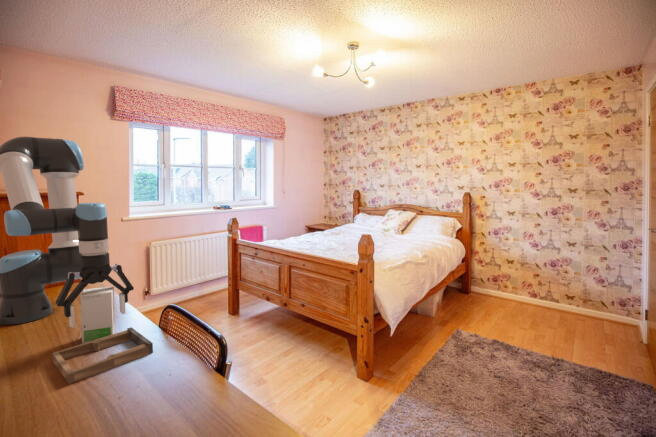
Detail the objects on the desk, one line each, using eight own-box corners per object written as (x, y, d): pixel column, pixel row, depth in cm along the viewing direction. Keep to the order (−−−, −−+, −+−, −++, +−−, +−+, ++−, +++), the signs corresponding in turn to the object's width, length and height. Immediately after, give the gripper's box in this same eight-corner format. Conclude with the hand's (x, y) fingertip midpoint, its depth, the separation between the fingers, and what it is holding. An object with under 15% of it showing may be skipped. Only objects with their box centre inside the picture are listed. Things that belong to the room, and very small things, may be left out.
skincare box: (81, 345, 101) (78, 295, 99) (85, 336, 107) (82, 288, 105) (114, 339, 105) (111, 291, 103) (116, 330, 111) (113, 285, 109)
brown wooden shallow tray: (52, 361, 92) (52, 351, 92) (131, 336, 107) (131, 327, 107) (68, 384, 82) (67, 372, 82) (152, 352, 98) (152, 342, 97)
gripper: (45, 262, 91) (51, 336, 93) (142, 248, 110) (145, 310, 112) (38, 258, 96) (45, 328, 98) (133, 245, 115) (136, 305, 117)
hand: (98, 319), depth 105 cm, fingers open, 13 cm apart
